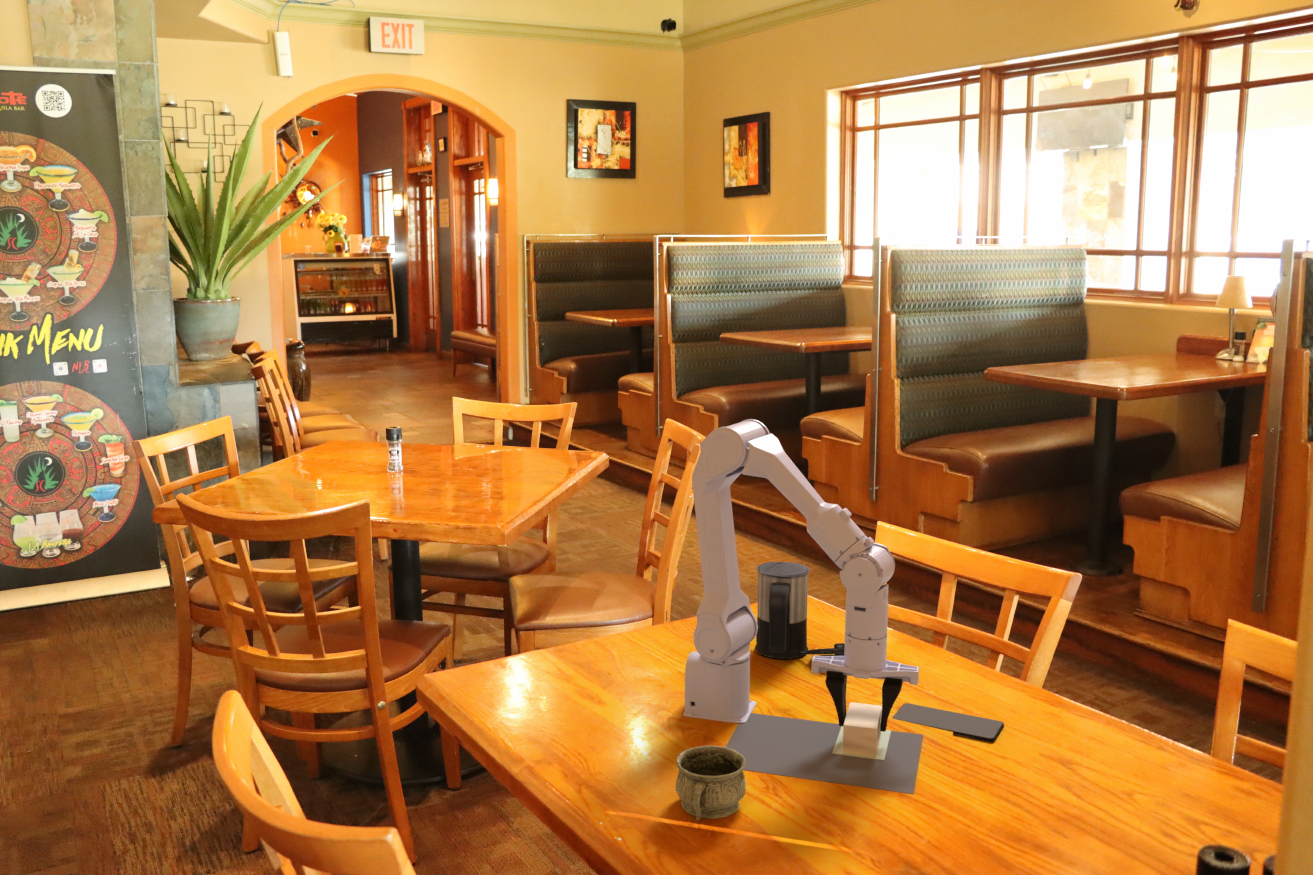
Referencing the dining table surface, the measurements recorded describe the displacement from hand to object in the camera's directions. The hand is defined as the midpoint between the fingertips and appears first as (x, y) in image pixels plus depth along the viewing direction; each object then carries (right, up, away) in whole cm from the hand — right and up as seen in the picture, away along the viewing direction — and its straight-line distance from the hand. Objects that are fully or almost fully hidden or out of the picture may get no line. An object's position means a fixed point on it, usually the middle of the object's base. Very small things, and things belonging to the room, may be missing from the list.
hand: (862, 725), depth 153 cm
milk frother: (-4, +3, +35) cm, 35 cm away
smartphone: (+14, -2, +8) cm, 16 cm away
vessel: (-22, -6, -16) cm, 28 cm away
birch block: (0, -2, 0) cm, 2 cm away
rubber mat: (-6, -3, -2) cm, 7 cm away
